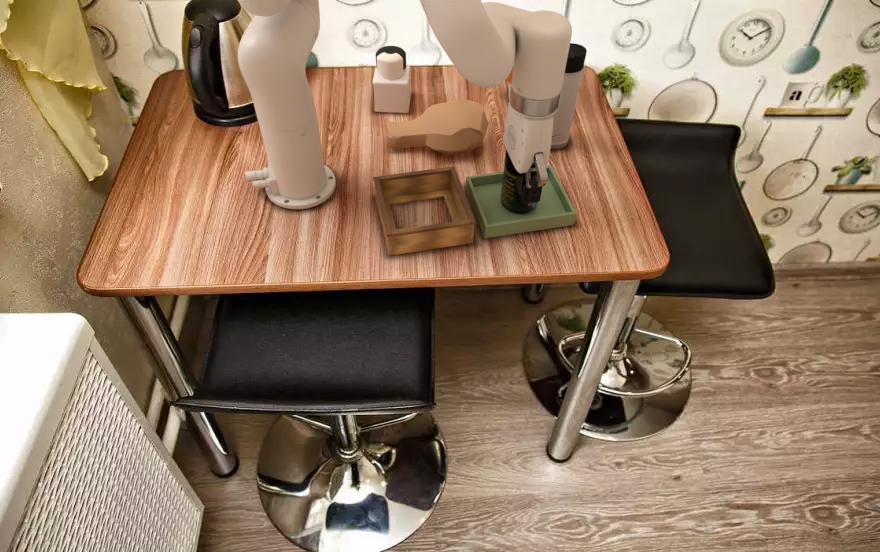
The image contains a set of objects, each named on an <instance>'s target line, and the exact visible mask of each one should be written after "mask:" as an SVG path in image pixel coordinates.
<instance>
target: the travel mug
mask: <svg viewBox="0 0 880 552" xmlns="http://www.w3.org/2000/svg"><path fill="white" fill-rule="evenodd" d="M587 52H588V50H587V48H586V46H583V45H582V44H579V43H575V42H570V47H569V52H568V57H567V63H566V68H565V73H564V78H563V83H562V89H561V94H560V100H559V105H558V110H557V112H556V113H555V114H554V115H553V116H554V118H553V132H552V142H551V149H550V150H560V149H563V148H564V147H566V146H567V145H568V143H569V139H570V134H571V129H572V126H573V120H574V117H575V111H576V107H577V106H576V105H577V101H578V96H579V93H580V92H579V91H580V87H581V82H582V77H583V73H584V69H585V61H586V57H587Z"/></svg>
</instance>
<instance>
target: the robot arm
mask: <svg viewBox="0 0 880 552" xmlns="http://www.w3.org/2000/svg"><path fill="white" fill-rule="evenodd" d="M237 1H238V3H239V4H240V5H241V7H243V8H244V9H245V10H246V11H247V12H248V13H250V14H252V15H254V17H252V19H251V21H250V22H249V24H248V26H247V27H246V29H245V30H244V32H243V34H242V36H241V39H240V40H239V44H238V49H237V62H238V63H237V64H238V68H239V70H240V73H241V75H242V78H243V79H244V82H245V84H246V86H247V88H248V91H249V94H250V96H251V100H252V103H253V107H254V110H255V115H256V120H257V121H258V127H259V130H260V134H261V138H262V142H263V146H264V151H265V154H266V159H267V166H265V167H262V169H257V170H255V169H254V170H247V171H245V172H244V176H245V181H246V183H252V188H253V189H254V190H256V189H257V190H258V189H262V188H264V189H265V193H266V196H267V197H268V199H269V200H270V201H271V202H272V203H273V204H274V205H276V206H278V207H280V208H283V209H286V210H287V209H288V210H305V209H311V208H313V207H316V206H319V205H321V204H322V203H324V202H326V201H327V200H328V199H330V198H331V196H332V195H333V194H334V192H335V190H336V186H337V182H336V181H337V180H336V176H335V173H334V171H332V169H331V168H330V167H329V166H327V165H326V164H325V157H324V152H323V147H322V139H321V133H320V127H319V121H318V120H319V119H318V115H317V109H316V103H315V97H314V94H313V90H312V87H311V85H310V83H309V81H308V78H307V72H306V68H307V62H308V60H309V57H310V55H311V52H312V50H313V49H314V46H315V44H316V42H317V40H318V38H319V34H320V28H321V14H320V13H321V12H320V2H319V0H237ZM419 2H420V5H421V7H422V10H423V12H424V14H425V17H426V19H427V21H428V24H429V26H430V28H431V30H432V32H433V34H434V37H435V38H436V40H437V42H438V43H439V45H440V47H441V48H442V50H443V51H444V52H445V54H446V56H447V57H448V59H449V60H450V61H451V63H452V65H454V68H456V70H457V71H458V73H459V74H460V75H461V76H462V77H463V79H465V80H466V81H467V82H468V83H470V84H472V85H474V86H477V87H479V88H486V89H487V88H493V87H497V86H499V85H501V84H503V83H504V82H505V81H507V77H508V76H509V74H510V73H511V71H512V68H513V74H512V83H511V91H510V100H509V99H508V106H507V110H506V116H505V121H504V127H503V134H502V143H503V145H504V148H505V152H506V151H507V152H508V154H509V157H510V159H511V161H512V163H513V165H514V167H515V169H516V170H517V171H518V172H519V173H525V181H526V184H523V191H522V197H521V203H522V204H529V203H536V202H539V201H540V198H541V192H542V187H543V186H545V184H546V182H547V181H548V174H547V170H546V167H547V166H548V163H549V160H550V154H551V150H552V149H551V142H552V132H553V118H554V116H553V115H554V114H555V113H556V112H557V110H558V105H559V100H560V94H561V89H562V83H563V78H564V73H565V68H566V63H567V57H568V52H569V47H570V43H571V41H572V35H573V27H572V23H571V21H569V19H568V18H567V17H566V16H564V15H563V14H561V13H559V12H557V11H553V10H546V9H545V10H542V9H541V10H534V11H531V10H528V9H522V8H519V7H517V6H516V7H515V6H512V5H509V4H505V3H501V2H496V1H486V2H485V1H484V2H483V1H482V0H419ZM513 65H514V66H513ZM533 163H535V167H534V168H530V167H531V165H532V164H533ZM533 171H536V172H537V177H536V179H534V180H531V177H530V172H533Z"/></svg>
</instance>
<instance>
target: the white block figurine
mask: <svg viewBox="0 0 880 552" xmlns="http://www.w3.org/2000/svg"><path fill="white" fill-rule="evenodd" d="M411 72H412V71H411V65H410V64H407V52H406V51H405V50H404V49H403V48H402V47H400V46H396V45H386V46H381V47H380V48H378V49H377V51H375V69H374V73H373V78H372V93H373V108H374V112H375V113H395V114H409V112H410V104H411V97H412V82H411V81H412V79H411V78H412V77H411V75H412V73H411Z"/></svg>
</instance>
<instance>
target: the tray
mask: <svg viewBox="0 0 880 552" xmlns="http://www.w3.org/2000/svg"><path fill="white" fill-rule="evenodd" d="M546 170H547V174H548V181H547V182H546V184H545V186H543V187H542V192H541V198H540V201H539V202H538V203H537V206H536V207H535V208H534V209H533V210H532V211H530V212H528V213H525V214H516V213H512V212H510V211H508V210H506V209H505V208H504V207H503V205H502V204H501V201H500V197H501V188H502V180H503V171H498V172H491V173H483V174H477V175H470V176H466V177H465V190H466V193H467V196H468V198H469V200H470V201H469V202H470V203H471V206H472V209H473V212H474V214H475V217H476V219H477V222H478V225H479V227H480V230H481V233H482V235H483V238H484V239H490V238H495V237H496V238H497V237H503V236H509V235H516V234H524V233H529V232H535V231H536V232H537V231H543V230H549V229H555V228H556V229H557V228H562V227H568V226H569V227H570V226H574V225H575V222H576V220H577V219H576V218H577V215H578V214H577V211H576V209H575V207H574V205H573V204H572V201H571V199H570V197H569V196H568V194H567V192H566V191H565V188H564V186H563V185H562V183H561V181H560V179H559V177H558V176H557V173H556V172H555V169H554V167H553V166H552V165H551V164H550V165H547V167H546Z"/></svg>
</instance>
